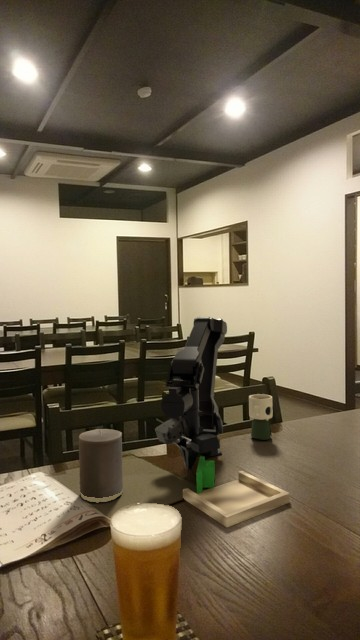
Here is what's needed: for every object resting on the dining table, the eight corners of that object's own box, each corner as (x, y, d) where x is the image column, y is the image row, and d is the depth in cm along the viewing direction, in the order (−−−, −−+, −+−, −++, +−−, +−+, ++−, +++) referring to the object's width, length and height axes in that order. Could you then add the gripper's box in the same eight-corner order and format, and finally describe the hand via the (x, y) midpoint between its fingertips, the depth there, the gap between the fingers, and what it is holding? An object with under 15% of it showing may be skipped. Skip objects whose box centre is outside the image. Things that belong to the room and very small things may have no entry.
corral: (182, 498, 97) (182, 489, 97) (242, 478, 107) (242, 470, 107) (226, 527, 85) (226, 517, 85) (289, 502, 94) (289, 493, 94)
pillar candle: (86, 507, 94) (85, 438, 94) (75, 490, 103) (73, 426, 102) (129, 497, 99) (128, 431, 98) (115, 481, 108) (113, 420, 107)
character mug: (267, 445, 130) (266, 401, 129) (244, 442, 133) (243, 399, 132) (277, 434, 139) (276, 393, 138) (255, 431, 142) (254, 392, 142)
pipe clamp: (213, 493, 99) (212, 473, 99) (196, 493, 99) (196, 473, 99) (215, 473, 110) (214, 455, 110) (200, 473, 110) (199, 455, 110)
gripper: (140, 405, 113) (143, 465, 114) (181, 421, 97) (183, 491, 98) (177, 398, 119) (179, 455, 120) (220, 413, 103) (222, 478, 104)
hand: (189, 469), depth 110 cm, fingers closed
